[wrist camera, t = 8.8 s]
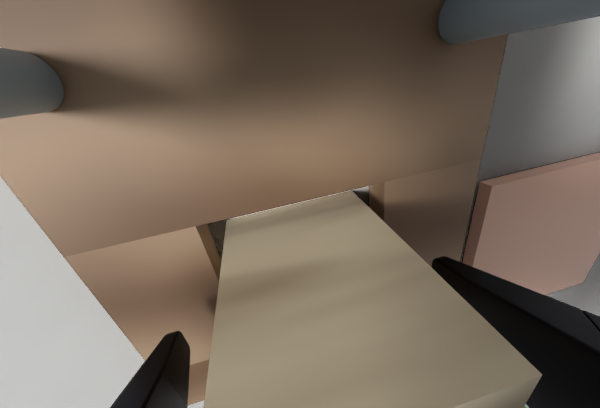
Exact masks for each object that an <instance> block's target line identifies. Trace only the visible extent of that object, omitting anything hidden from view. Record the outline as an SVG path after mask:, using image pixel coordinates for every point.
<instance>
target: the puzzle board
mask: <svg viewBox="0 0 600 408" xmlns="http://www.w3.org/2000/svg"><path fill="white" fill-rule="evenodd" d="M445 1H446V0H0V48H6V49H12V50H19V51H24V52H27V53H30V54H33V55H35V56H37V57H38V58H40V59H42V60H43V61H44V62H46V63H47V64H48V65H49V66H50V67H51V68H52V69H53V70H54V71H55V72H56V74H57V75H58V77H59V78H60V81H61V83H62V86H63V90H64V97H63V101H62V103H61V104H60V106H59V107H58V108H57V109H55V110H53V111H51V112H46V113H39V114H31V115H24V116H17V117H10V118H2V119H0V176H1V178H2V179H3V180H4V181H5V183H6V184H7V185H8V187H9V188H10V189H11V190H12V192H13V193H14V194H15V195H16V197H17V198H18V199H19V201H20V202H21V203H22V204H23V206H24V207H25V208H26V209H27V211H28V212H29V213H30V215H31V216H32V217H33V218H34V220H35V221H36V222H37V223H38V225H39V226H40V227H41V229H42V230H43V231H44V232H45V234H46V235H47V236H48V237H49V239H50V240H51V241H52V243H53V244H54V245H55V246H56V248H57V249H58V250H59V252H60V253H61V254H62V255H63V257H64V258H65V259H66V260H67V262H68V263H69V264H70V266H71V267H72V268H73V269H74V271H75V272H76V273H77V274H78V276H79V277H80V278H81V280H82V281H83V282H84V283H85V285H86V286H87V287H88V288H89V290H90V291H91V292H92V294H93V295H94V296H95V297H96V299H97V300H98V301H99V302H100V304H101V305H102V306H103V308H104V309H105V310H106V311H107V313H108V314H109V315H110V316H111V318H112V319H113V320H114V322H115V323H116V324H117V325H118V327H119V328H120V329H121V330H122V332H123V333H124V334H125V336H126V337H127V338H128V339H129V341H130V342H131V343H132V345H133V346H134V347H135V348H136V350H137V351H138V352H139V353H140V355H141V356H142V357H143V359H144V360H145V361H146V359H147V358H148V357H149V355H150V354H151V353H152V351H153V350H154V349H155V348H156V346H157V345H158V344H159V342H160V341H161V340H162V338H163V337H164V336H165V335H166V334H168V333H171V332H175V331H180V332H181V333H182V334H183V336H184V337H185V339H186V341H187V342H188V344H189V346H190V371H189V391H188V405H191V404H194V403H197V402H200V401H203V400H205V392H206V384H207V376H208V368H209V360H210V351H211V343H212V335H213V327H214V319H215V311H216V302H217V294H218V286H219V278H220V270H221V262H222V261H221V258H220V255H219V253H218V250H217V248H216V245H215V243H214V240H213V238H212V235H211V233H210V230H209V227H208V225H207V224H208V223H212V222H216V221H220V220H225V219H229V218H233V217H237V216H242V215H246V214H250V213H254V212H259V211H263V210H267V209H272V208H276V207H280V206H284V205H289V204H293V203H297V202H301V201H306V200H310V199H314V198H319V197H323V196H327V195H331V194H336V193H340V192H344V191H348V190H353V189H357V188H361V187H365V186H369V208H370V209H371V210H372V211H373V212H375V213H376V214H377V215H378V216H379V217H380V218H381V219H382V220H383V221H384V222H385V223H386V224H387V225H388V226H389V227H390V228H391V229H392V230H393V231H394V232H395V233H396V234H397V235H398V236H399V237H400V238H401V239H402V240H403V241H405V242H406V243H407V244H408V245H409V246H410V247H411V248H412V249H413V250H414V251H415V252H416V253H417V254H418V255H419V256H420V257H421V258H422V259H423V260H424V261H425V262H426V263H427V264H428V265H429V266H430V267H432V261H433V259H435V258H438V257H441V256H446V257H449V258H451V259H454V260H456V261H459V262H460V259H461V255H462V250H463V245H464V240H465V236H466V231H467V226H468V221H469V217H470V212H471V207H472V202H473V198H474V193H475V188H476V183H477V179H478V174H479V169H480V165H481V160H482V155H483V150H484V146H485V141H486V136H487V131H488V127H489V122H490V117H491V112H492V108H493V103H494V98H495V94H496V89H497V84H498V79H499V75H500V70H501V65H502V60H503V56H504V51H505V46H506V41H507V37H508V34H505V35H500V36H495V37H489V38H484V39H479V40H474V41H469V42H464V43H458V44H448V43H446V42H445V41H444V40H443V39H442V37H441V35H440V33H439V28H438V20H439V15H440V11H441V9H442V6H443V4H444V2H445Z"/></svg>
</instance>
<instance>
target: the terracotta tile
mask: <svg viewBox="0 0 600 408" xmlns="http://www.w3.org/2000/svg"><path fill="white" fill-rule="evenodd" d="M599 253H600V152H598V153H594V154H590V155H586V156H582V157H578V158H574V159H570V160H566V161H562V162H558V163H554V164H550V165H545V166H541V167H537V168H533V169H529V170H525V171H521V172H517V173H513V174H509V175H505V176H501V177H497V178H493V179H489V180H485V181H481V182H480V184H479V188H478V193H477V198H476V202H475V207H474V211H473V216H472V221H471V225H470V230H469V234H468V239H467V243H466V248H465V253H464V257H463V262H462V263H464V264H467V265H469V266H472V267H474V268H477V269H479V270H482V271H484V272H487V273H490V274H492V275H495V276H497V277H500V278H502V279H505V280H507V281H510V282H512V283H515V284H518V285H520V286H523V287H525V288H528V289H530V290H533V291H535V292H538V293H540V294H543V295H547V294H550V293H553V292H556V291H559V290H562V289H565V288H568V287H571V286H575V285H578V284H581V283H583V282H584V280H585V278H586V276H587V275H588V273H589V271H590V269H591V267H592V266H593V264H594V262H595V260H596V258H597V257H598V255H599Z"/></svg>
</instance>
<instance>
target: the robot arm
mask: <svg viewBox="0 0 600 408" xmlns="http://www.w3.org/2000/svg"><path fill="white" fill-rule="evenodd" d="M431 268H432V269H434V270H435V271H436V272H437V273H438V274H439V275H440V276H441V277H442V278H443V279H444V280H445V281H446V282H447V283H448V284H449V285H450V286H451V287H452V288H453V289H454V290H455V291H456V292H457V293H458V294H459V295H460V296H461V297H462V298H464V299H465V300H466V301H467V302H468V303H469V304H470V305H471V306H472V307H473V308H474V309H475V310H476V311H477V312H478V313H479V314H480V315H481V316H482V317H483V318H484V319H485V320H486V321H487V322H488V323H489V324H490V325H491V326H493V327H494V328H495V329H496V330H497V331H498V332H499V333H500V334H501V335H502V336H503V337H504V338H505V339H506V340H507V341H508V342H509V343H510V344H511V345H512V346H513V347H514V348H515V349H516V350H517V351H518V352H519V353H520V354H521V355H523V356H524V357H525V358H526V359H527V360H528V361H529V362H530V363H531V364H532V365H533V366H534V367H535V368H536V369H537V370H538V371H539V372H540V373H541V374H542V377H541V378H540V380H539V382H538V383H537V385H536V387H535V389H534V390H533V392H532V394H531V395H530V397H529V399H528V401H527V402H526V405H527V406H528V407H529V408H600V317H599V316H597V315H594V314H592V313H589V312H586V311H581V310H580V309H579V308H576V307H574V306H571V305H568V304H566V303H563V302H561V301H558V300H556V299H553V298H551V297H548V296H546V295H543V294H540V293H538V292H535V291H533V290H530V289H528V288H525V287H523V286H520V285H518V284H515V283H512V282H510V281H507V280H505V279H502V278H500V277H497V276H495V275H492V274H490V273H487V272H484V271H482V270H479V269H477V268H474V267H472V266H469V265H467V264H464V263H462V262H459V261H456V260H454V259H451V258H449V257H446V256H441V257H438V258H435V259H433V261H432V267H431ZM189 371H190V346H189V344H188V342H187V341H186V339H185V337H184V336H183V334H182V333H181V332H180V331H175V332H171V333H168V334H166V335H165V336H164V337H163V338H162V340H161V341H160V342H159V344H158V345H157V346H156V348H155V349H154V350H153V351H152V353H151V354H150V355H149V357H148V358H147V359H146V361H145V362H144V363H143V365H142V366H141V367H140V369H139V370H138V371H137V373H136V374H135V375H134V377H133V378H132V379H131V381H130V382H129V383H128V385H127V386H126V387H125V389H124V390H123V391H122V393H121V394H120V395H119V397H118V398H117V399H116V401H115V402H114V403H113V404H112V406H111V407H110V408H187V406H188V391H189Z"/></svg>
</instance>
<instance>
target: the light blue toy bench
mask: <svg viewBox="0 0 600 408" xmlns="http://www.w3.org/2000/svg"><path fill="white" fill-rule="evenodd" d="M598 16H600V0H446V1H445V2H444V4H443V6H442V9H441V11H440V15H439V20H438V28H439V33H440V35H441V37H442V39H443V40H444V41H445V42H446V43H448V44H458V43H464V42H469V41H474V40H479V39H484V38H489V37H495V36H500V35H505V34H510V33H515V32H520V31H525V30H531V29H536V28H541V27H546V26H551V25H556V24H562V23H567V22H572V21H577V20H582V19H587V18H592V17H598ZM63 97H64V90H63V86H62V83H61V81H60V78H59V77H58V75H57V74H56V72H55V71H54V70H53V69H52V68H51V67H50V66H49V65H48V64H47V63H46V62H44V61H43V60H42V59H40V58H38V57H37V56H35V55H33V54H30V53H27V52H24V51H19V50H12V49H6V48H0V119H2V118H10V117H17V116H24V115H31V114H39V113H46V112H51V111H53V110H55V109H57V108H58V107H59V106H60V104H61V103H62V101H63Z"/></svg>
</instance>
